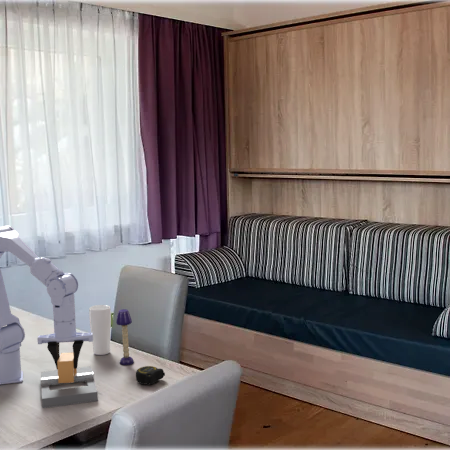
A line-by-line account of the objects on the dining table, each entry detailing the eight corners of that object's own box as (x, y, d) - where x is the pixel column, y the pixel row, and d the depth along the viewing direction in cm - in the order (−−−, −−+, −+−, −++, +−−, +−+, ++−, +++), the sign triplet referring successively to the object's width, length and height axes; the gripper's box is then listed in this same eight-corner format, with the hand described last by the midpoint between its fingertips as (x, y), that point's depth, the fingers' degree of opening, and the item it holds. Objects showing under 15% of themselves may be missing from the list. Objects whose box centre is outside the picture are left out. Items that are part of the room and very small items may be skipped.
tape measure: (149, 388, 176) (149, 375, 175) (131, 383, 180) (130, 371, 179) (165, 380, 182) (165, 368, 181) (146, 376, 185) (146, 363, 185)
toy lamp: (130, 366, 193) (128, 312, 191) (115, 365, 194) (113, 311, 192) (135, 360, 198) (133, 308, 195) (121, 360, 198) (119, 307, 196)
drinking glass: (102, 357, 201) (100, 311, 199) (86, 354, 204) (84, 308, 202) (116, 351, 206) (115, 306, 204) (101, 348, 210) (99, 303, 208)
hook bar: (41, 385, 172) (40, 380, 172) (41, 383, 174) (40, 377, 174) (94, 379, 176) (93, 373, 176) (93, 377, 178) (93, 371, 178)
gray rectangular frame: (42, 408, 164) (41, 398, 164) (41, 380, 183) (40, 371, 183) (97, 400, 168) (97, 391, 168) (91, 374, 187) (90, 366, 187)
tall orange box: (58, 383, 172) (57, 361, 171) (62, 373, 178) (61, 352, 178) (73, 382, 172) (72, 360, 171) (77, 372, 179) (75, 352, 178)
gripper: (93, 314, 177) (95, 361, 179) (39, 316, 176) (42, 364, 178) (90, 321, 170) (93, 370, 172) (34, 323, 169) (37, 373, 171)
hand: (67, 367), depth 174 cm, fingers closed on tall orange box, 4 cm apart
